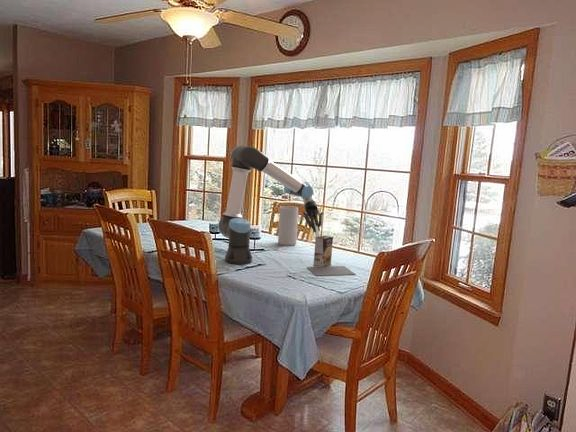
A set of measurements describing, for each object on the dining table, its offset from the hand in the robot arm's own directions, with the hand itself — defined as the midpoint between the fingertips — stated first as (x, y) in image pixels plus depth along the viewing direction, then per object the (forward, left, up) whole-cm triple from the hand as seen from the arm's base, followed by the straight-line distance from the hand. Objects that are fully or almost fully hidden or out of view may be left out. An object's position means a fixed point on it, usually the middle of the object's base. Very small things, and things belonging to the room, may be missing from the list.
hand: (317, 236), depth 261 cm
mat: (-1, -26, -14) cm, 29 cm away
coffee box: (-1, -13, -14) cm, 19 cm away
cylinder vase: (-7, +41, -14) cm, 44 cm away
